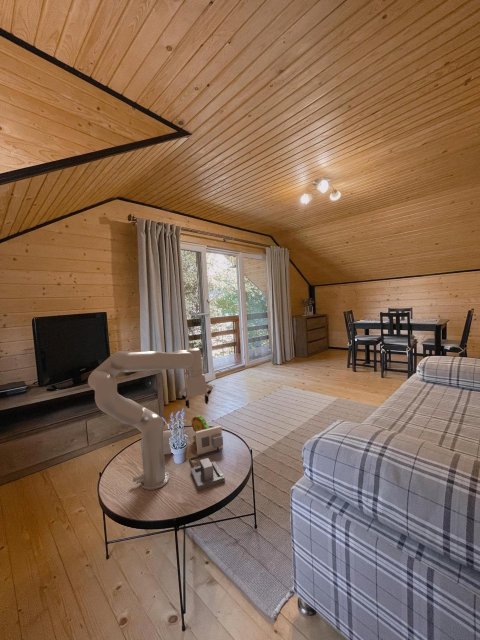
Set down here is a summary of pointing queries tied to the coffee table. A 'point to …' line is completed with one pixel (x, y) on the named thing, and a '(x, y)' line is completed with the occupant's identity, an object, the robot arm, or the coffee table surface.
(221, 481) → the charging cradle
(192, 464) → the dark piece
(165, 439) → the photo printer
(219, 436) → the plate
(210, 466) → the grey rectangular block
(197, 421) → the toy lion
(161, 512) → the coffee table surface
